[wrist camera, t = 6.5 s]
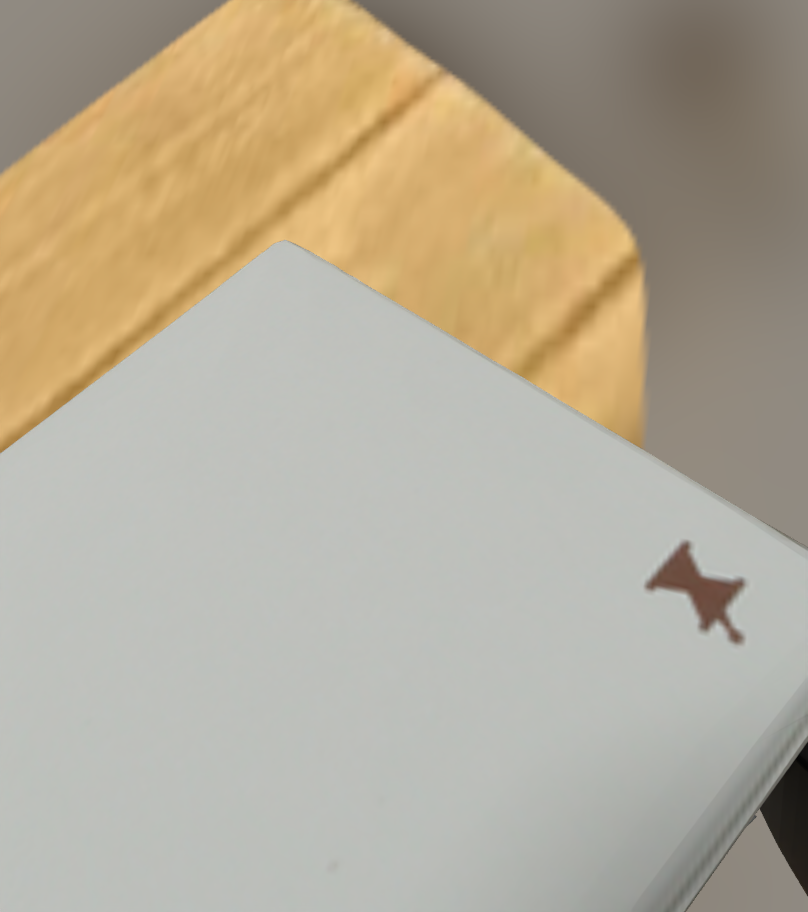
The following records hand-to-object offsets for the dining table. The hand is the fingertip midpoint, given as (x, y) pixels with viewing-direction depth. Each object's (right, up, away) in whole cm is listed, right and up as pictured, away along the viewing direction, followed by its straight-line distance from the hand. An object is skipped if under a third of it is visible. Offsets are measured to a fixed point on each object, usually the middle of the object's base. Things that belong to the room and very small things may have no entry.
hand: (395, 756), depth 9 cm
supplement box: (+1, -4, +7) cm, 8 cm away
